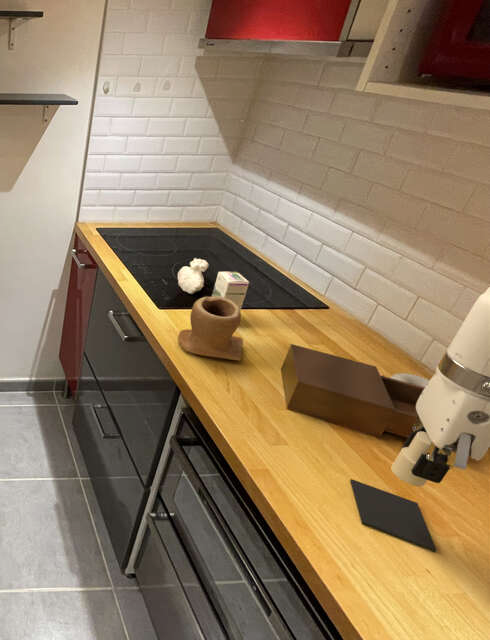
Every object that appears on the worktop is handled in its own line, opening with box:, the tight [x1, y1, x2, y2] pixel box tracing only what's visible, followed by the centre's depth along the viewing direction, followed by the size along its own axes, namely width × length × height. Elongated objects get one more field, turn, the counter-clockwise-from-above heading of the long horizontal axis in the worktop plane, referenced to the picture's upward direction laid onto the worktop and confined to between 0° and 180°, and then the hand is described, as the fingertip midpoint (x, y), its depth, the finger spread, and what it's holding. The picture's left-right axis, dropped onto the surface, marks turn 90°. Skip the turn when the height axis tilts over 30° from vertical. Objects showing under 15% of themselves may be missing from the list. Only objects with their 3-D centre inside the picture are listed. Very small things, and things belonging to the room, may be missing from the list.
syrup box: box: [211, 271, 250, 311], centre depth 123 cm, size 6×6×14 cm
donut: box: [390, 372, 431, 387], centre depth 99 cm, size 10×3×10 cm
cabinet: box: [280, 343, 395, 439], centre depth 97 cm, size 16×15×8 cm
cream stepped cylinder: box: [390, 432, 443, 488], centre depth 70 cm, size 4×4×8 cm
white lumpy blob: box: [177, 257, 210, 295], centre depth 141 cm, size 12×8×11 cm
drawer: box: [380, 374, 453, 455], centre depth 91 cm, size 19×13×6 cm
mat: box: [350, 478, 437, 553], centre depth 75 cm, size 9×9×1 cm
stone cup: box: [178, 296, 244, 361], centre depth 110 cm, size 15×12×15 cm
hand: (419, 465), depth 70 cm, fingers closed on cream stepped cylinder, 4 cm apart
